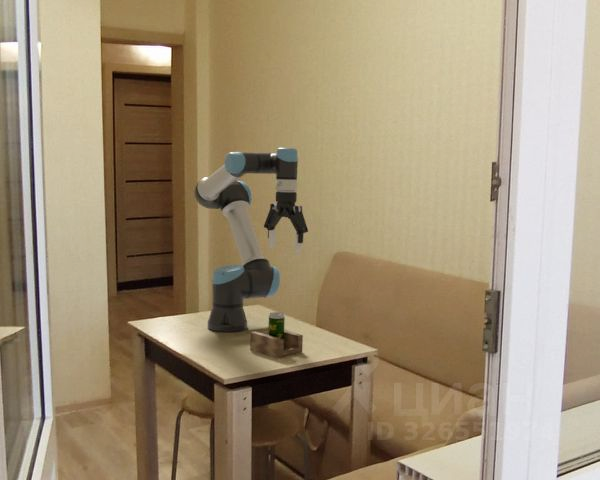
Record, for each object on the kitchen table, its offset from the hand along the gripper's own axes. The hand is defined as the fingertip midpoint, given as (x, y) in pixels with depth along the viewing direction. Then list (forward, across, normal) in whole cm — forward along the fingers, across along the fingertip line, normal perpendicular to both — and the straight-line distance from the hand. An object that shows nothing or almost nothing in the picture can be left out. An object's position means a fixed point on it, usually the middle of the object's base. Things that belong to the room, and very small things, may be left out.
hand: (284, 250), depth 249 cm
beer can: (+31, +13, -16) cm, 37 cm away
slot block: (+32, +13, -16) cm, 38 cm away
